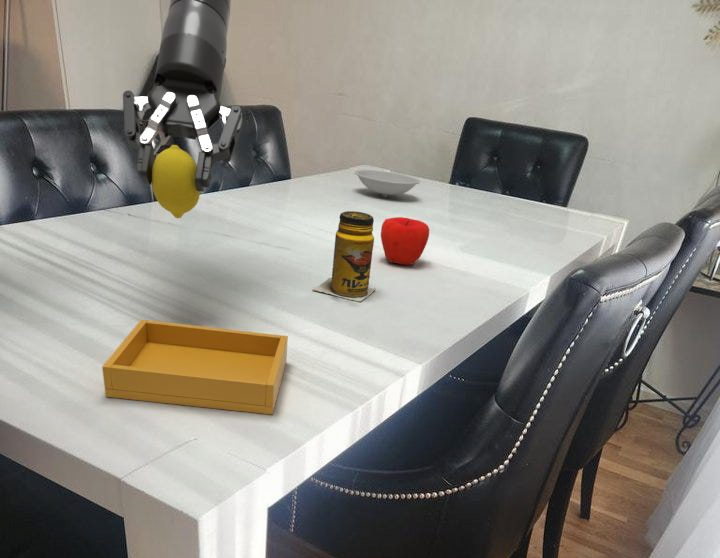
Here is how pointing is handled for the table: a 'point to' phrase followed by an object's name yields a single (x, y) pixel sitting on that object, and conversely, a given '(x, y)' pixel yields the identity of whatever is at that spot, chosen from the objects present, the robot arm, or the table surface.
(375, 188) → the dish
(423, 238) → the apple
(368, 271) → the condiment
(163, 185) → the lemon
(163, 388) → the yellow tray
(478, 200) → the table surface
